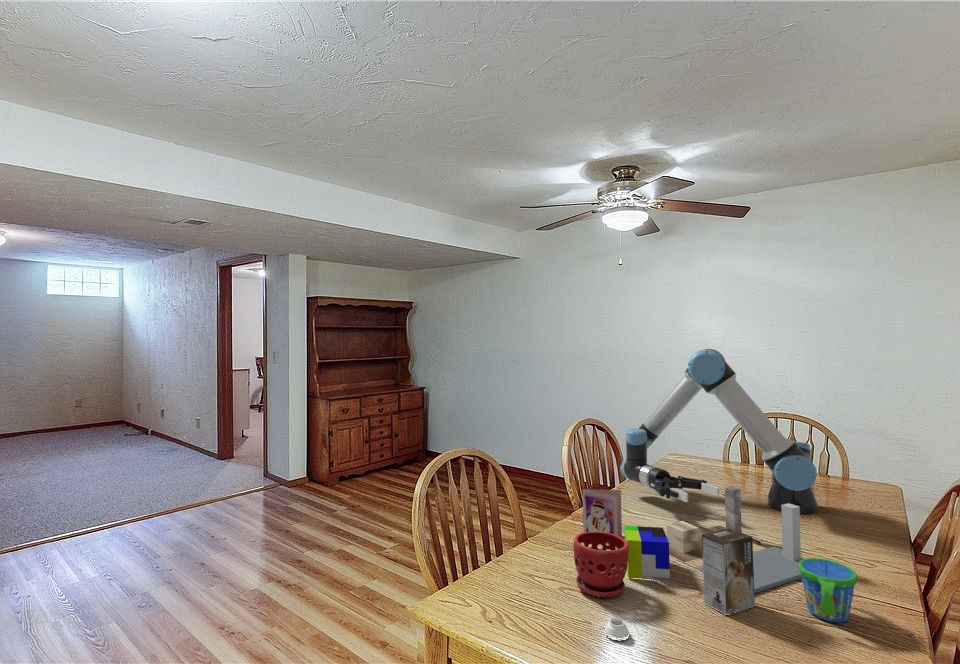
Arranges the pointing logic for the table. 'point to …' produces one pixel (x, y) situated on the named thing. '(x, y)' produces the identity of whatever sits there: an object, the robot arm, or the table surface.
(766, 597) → the table surface
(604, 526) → the greeting card
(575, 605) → the table surface
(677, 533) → the beech block
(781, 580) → the base plate with post
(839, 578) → the snack cup
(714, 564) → the coffee box
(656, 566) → the puzzle toy
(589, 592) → the plant pot
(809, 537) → the table surface
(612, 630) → the grey tapered hollow piece
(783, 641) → the table surface
